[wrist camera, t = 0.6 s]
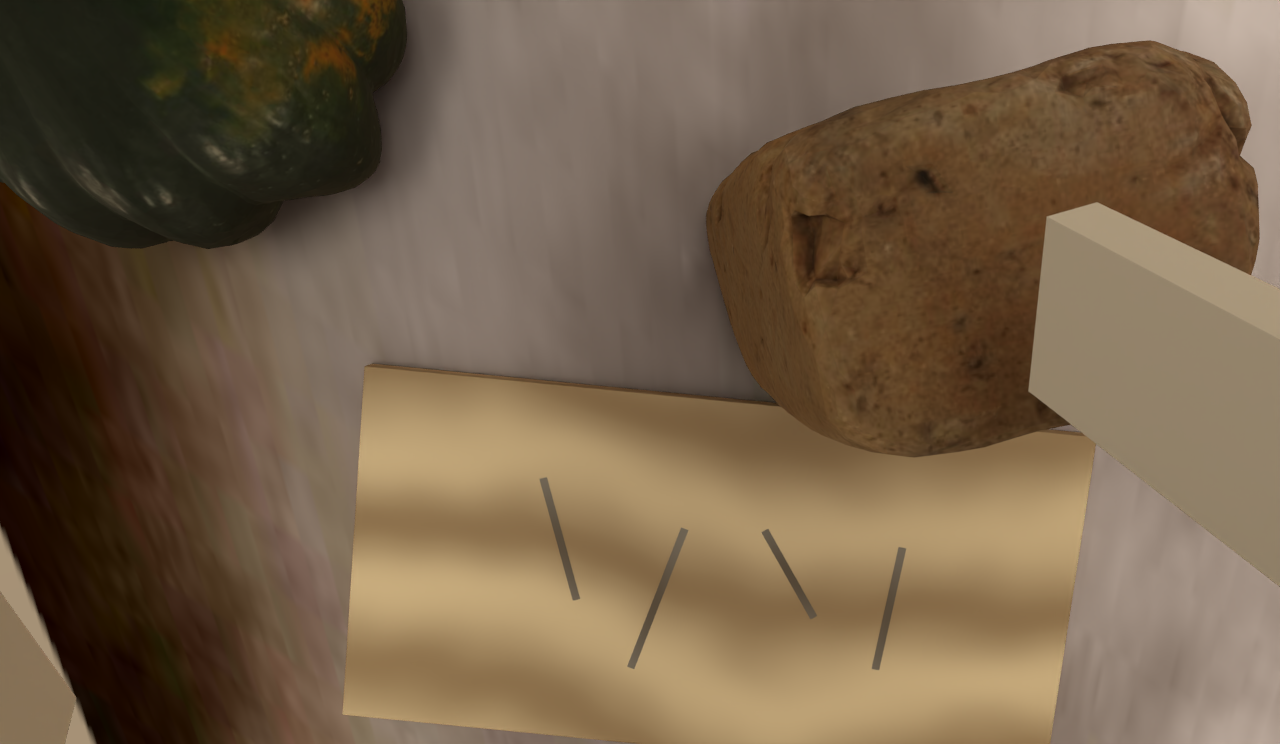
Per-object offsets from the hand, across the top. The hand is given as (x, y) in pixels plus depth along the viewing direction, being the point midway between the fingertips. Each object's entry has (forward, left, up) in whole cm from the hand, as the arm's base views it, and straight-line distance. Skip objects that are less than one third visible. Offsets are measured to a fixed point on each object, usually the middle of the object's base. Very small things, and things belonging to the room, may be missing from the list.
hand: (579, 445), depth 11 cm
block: (-3, +8, -25) cm, 27 cm away
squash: (-8, -16, -25) cm, 31 cm away
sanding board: (+10, +4, -25) cm, 27 cm away
